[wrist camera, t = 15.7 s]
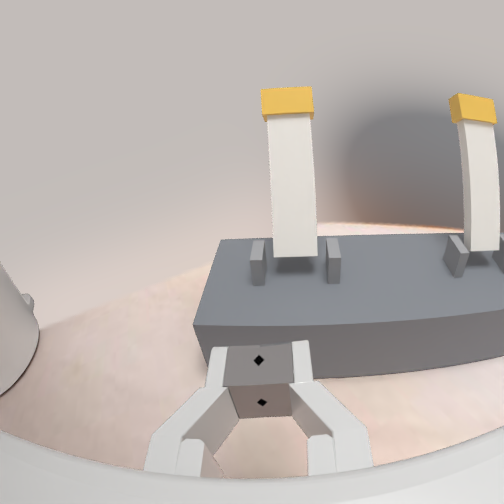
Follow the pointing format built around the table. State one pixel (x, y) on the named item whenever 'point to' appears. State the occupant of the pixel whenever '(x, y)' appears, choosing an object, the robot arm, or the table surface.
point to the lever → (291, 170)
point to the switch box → (359, 302)
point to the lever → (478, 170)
